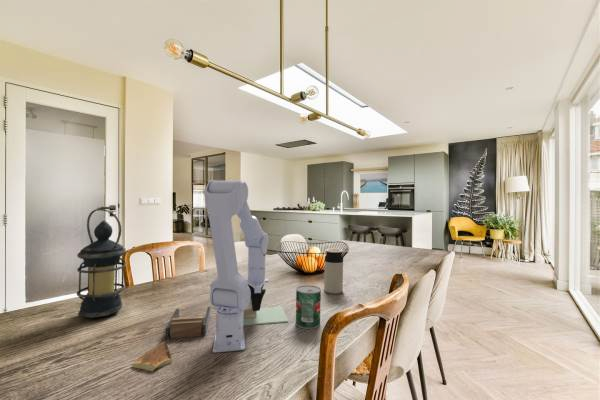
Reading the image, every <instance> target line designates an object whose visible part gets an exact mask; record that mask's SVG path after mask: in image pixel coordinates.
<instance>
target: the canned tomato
mask: <svg viewBox="0 0 600 400" xmlns="http://www.w3.org/2000/svg"><path fill="white" fill-rule="evenodd" d="M295 293H296V294H295V325H296V326H297V327H298V328H301V329H305V330H313V329H316V328H319V326H320V325H321V305H322V304H321V302H322V301H321V299H322V298H321V296H322V289H321V287H319V286H316V285H309V284H308V285H307V284H306V285H305V284H304V285H299V286H297V287H296V289H295Z"/></svg>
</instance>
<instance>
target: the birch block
mask: <svg viewBox="0 0 600 400" xmlns="http://www.w3.org/2000/svg"><path fill="white" fill-rule="evenodd" d="M256 315H257V311H253V309H252V301H251V298H250V302H249V304H248V306H247V307H246V308H245V309H244V314H243V319H250V318H256Z"/></svg>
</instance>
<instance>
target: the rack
mask: <svg viewBox="0 0 600 400" xmlns="http://www.w3.org/2000/svg"><path fill="white" fill-rule="evenodd" d="M211 308H212V306H207V309H206V313H205V316H204V319H203V333H202V337H205V336H206V335H207V332H208V327H209V322H210V318H211ZM172 318H180V308H176V309H175V310H174V313H173V314H172V316H171V318H170V319H169V321H168V322H167V324H166V326H165V329H164V330H165V331H164V332H165V335H164V339H165V340H169V338H171V322H172Z"/></svg>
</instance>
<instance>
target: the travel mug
mask: <svg viewBox="0 0 600 400" xmlns="http://www.w3.org/2000/svg"><path fill="white" fill-rule="evenodd" d="M343 251H344V250H343V249H341V248H340V249H339V248H326V249H325V253H326V254H325V256H324V282H323V283H324V285H323V291H324V292H325V293H328V294H331V295H338V294H341V293H342V292H343V288H344V287H343V282H344V279H343V278H344V256H343Z"/></svg>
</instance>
